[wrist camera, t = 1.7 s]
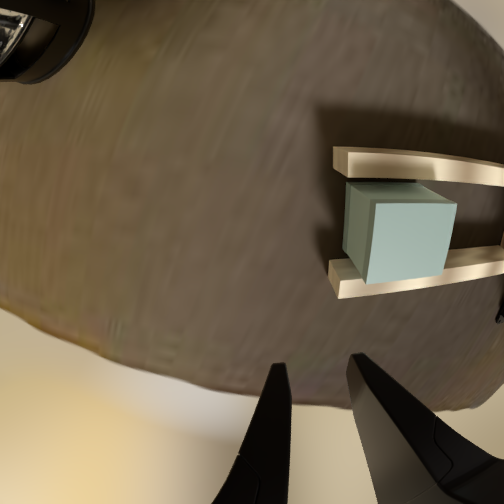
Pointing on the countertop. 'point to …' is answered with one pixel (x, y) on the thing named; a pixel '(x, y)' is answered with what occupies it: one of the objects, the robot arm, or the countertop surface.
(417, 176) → the lane
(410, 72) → the countertop surface
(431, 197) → the pale teal block
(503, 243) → the front stop
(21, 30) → the french press
